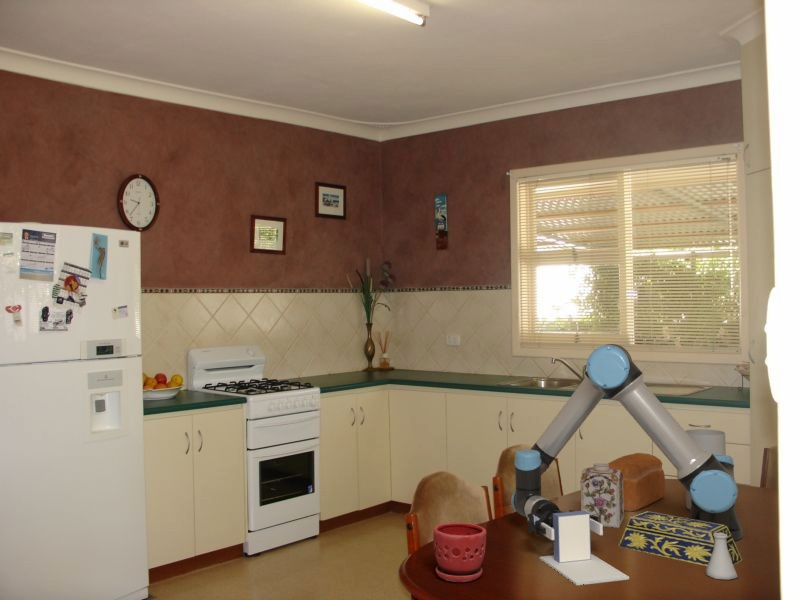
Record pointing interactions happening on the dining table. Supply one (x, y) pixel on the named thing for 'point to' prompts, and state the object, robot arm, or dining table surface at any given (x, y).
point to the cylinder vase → (707, 446)
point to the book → (571, 536)
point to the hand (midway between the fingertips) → (577, 532)
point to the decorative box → (676, 537)
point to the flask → (720, 560)
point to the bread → (640, 479)
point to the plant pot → (459, 551)
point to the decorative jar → (603, 494)
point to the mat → (586, 570)
